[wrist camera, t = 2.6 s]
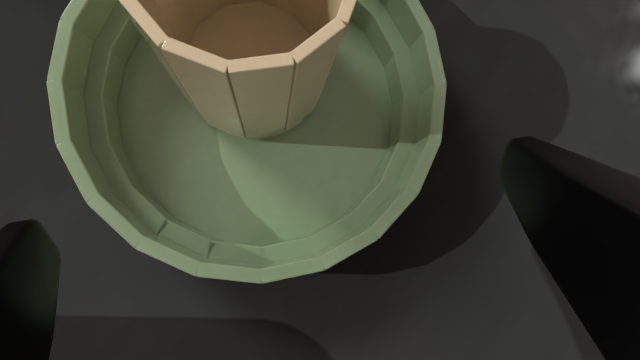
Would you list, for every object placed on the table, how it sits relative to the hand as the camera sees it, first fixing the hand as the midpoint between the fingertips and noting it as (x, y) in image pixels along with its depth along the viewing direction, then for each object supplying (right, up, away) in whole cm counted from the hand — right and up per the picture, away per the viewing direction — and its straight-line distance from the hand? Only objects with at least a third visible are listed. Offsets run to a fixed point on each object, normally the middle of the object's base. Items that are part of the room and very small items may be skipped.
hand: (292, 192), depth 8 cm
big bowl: (-2, +4, +13) cm, 14 cm away
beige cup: (-3, +6, +13) cm, 15 cm away
